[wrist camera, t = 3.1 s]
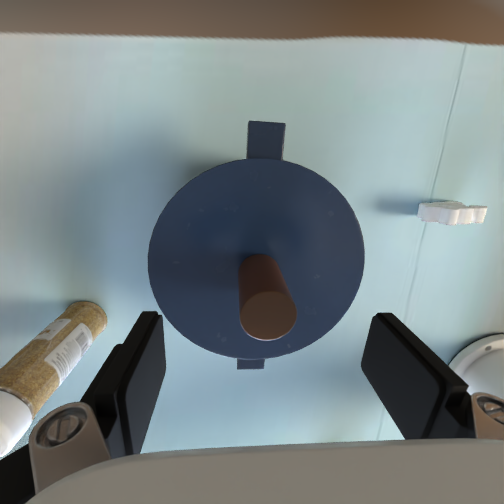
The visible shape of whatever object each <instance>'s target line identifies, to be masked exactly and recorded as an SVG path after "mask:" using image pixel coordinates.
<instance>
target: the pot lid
mask: <svg viewBox="0 0 504 504" xmlns="http://www.w3.org/2000/svg"><path fill="white" fill-rule="evenodd" d="M364 257H365V249H364V242H363V236H362V232H361V228H360V225H359V222H358V220H357V218H356V215H355V213H354V211H353V209H352V208H351V206H350V205H349V203H348V202H347V200H346V199H345V198H344V196H343V195H342V194H341V193H340V192H339V191H338V190H337V188H335V187H334V186H333V185H332V184H331V183H330V182H328V181H327V180H326V179H325V178H323V177H322V176H320V175H318V174H317V173H315V172H314V171H312V170H310V169H307V168H305V167H303V166H301V165H298V164H295V163H291V162H288V161H284V160H277V159H270V158H249V159H242V160H236V161H232V162H228V163H225V164H222V165H218V166H216V167H214V168H212V169H210V170H207V171H205V172H203V173H202V174H200V175H199V176H197V177H195V178H194V179H192V180H191V181H189V182H188V183H187V184H186V185H185V186H184V187H182V188H181V189H180V190H179V191H178V192H177V193H176V194H175V195H174V197H173V198H172V199H171V200H170V201H169V202H168V204H167V205H166V207H165V208H164V210H163V211H162V213H161V214H160V216H159V218H158V221H157V223H156V225H155V227H154V230H153V233H152V236H151V240H150V244H149V252H148V273H149V279H150V284H151V288H152V291H153V294H154V297H155V299H156V301H157V303H158V305H159V307H160V309H161V311H162V312H163V314H164V315H165V317H166V318H167V319H168V321H169V322H170V323H171V324H172V325H173V326H174V328H175V329H177V330H178V331H179V332H180V333H181V334H182V335H183V336H184V337H186V338H187V339H189V340H190V341H191V342H193V343H194V344H196V345H198V346H200V347H202V348H204V349H206V350H208V351H211V352H213V353H216V354H219V355H223V356H226V357H231V358H238V359H251V360H255V359H268V358H274V357H279V356H283V355H286V354H290V353H292V352H295V351H298V350H300V349H302V348H304V347H306V346H308V345H310V344H312V343H313V342H315V341H316V340H318V339H319V338H321V337H322V336H324V335H325V334H326V333H327V332H328V331H330V330H331V329H332V328H333V327H334V326H335V325H336V324H337V323H338V322H339V321H340V320H341V318H342V317H343V316H344V314H345V313H346V312H347V310H348V309H349V307H350V305H351V304H352V302H353V300H354V298H355V296H356V294H357V291H358V289H359V286H360V283H361V279H362V276H363V269H364Z"/></svg>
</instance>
